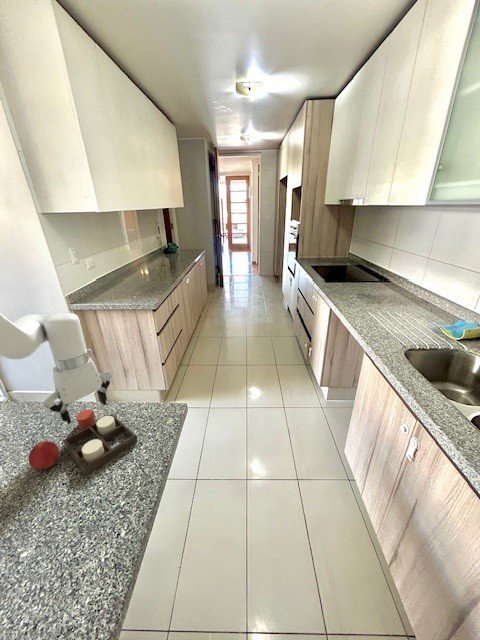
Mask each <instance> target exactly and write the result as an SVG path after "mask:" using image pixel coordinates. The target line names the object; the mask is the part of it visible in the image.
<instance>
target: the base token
mask: <svg viewBox="0 0 480 640" xmlns="http://www.w3.org/2000/svg"><path fill="white" fill-rule="evenodd" d="M81 448H82V454H83V457H84V461H85V464H86V465H88V464H90V463H91V462H93V461H94V460H96V459H97V458H99V457H100V456H102V455H104V454H105V453H104V448H103V445H102V441H101V440H98V439H90V440H89V441H87V442H86V443H85V444H83V446H82V447H81Z"/></svg>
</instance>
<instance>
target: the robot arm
mask: <svg viewBox="0 0 480 640" xmlns="http://www.w3.org/2000/svg"><path fill="white" fill-rule="evenodd" d="M46 342H47V343H48V345H49V348H50V352H51V355H52V358H53V361H54V364H55V366H54V367H53V368H52V378H53V379H52V380H53V385H54V392H53V393H51V394H50V395H49V396H48V397H47V398H46V399H44V400H43V402H42V405H43V406H44V407H45V408H47V409H48V410H50V411H52V412H55V413H59V415H60V418H61V421H62V422H63V423H64V422H66V423H67V424H68V425H69V424H71V423H72V419H71V416H70V413H69V411H68V407H69V405H70V404H72V403H74V402H77V401H78V400H80V399H83V398H85V397H87V396H89V395H91V394H93V393H95V392H97V396H98V401H99V402H100V403H101V404H102V405H103V406H106V405H107V400H108V396H107V391H108V390H107V389H108V387H109V386H110V384H111V380H112V376H113V375H112V374H111V373H110V372H99V371H98V368H97V367H96V365H95V362H94V361H93V359H92V357H90V355H91V354H94V350H93V349H92V348H88V349H87V345H86V341H85V337H84V333H83V329H82V324H81V321H80V318H79V316H78V315H77V314H75V313H72V312H62V313H57V314H37V313H35V314H25V315H22V316H20V317H19V318H17V319H16V320H15V321H13V322H12V321H11V320H10V319H9V318H7V317H6V316H5V315H4V314H2V313H1V312H0V356H1V357H4V358H6V359H9V360H22V359H25V358H28V357H30V356H32V355H33V354H34V353H35V352H36V351H37V350H38V349H39V347H41V346H42V345H43V344H44V343H46ZM101 379H104V380H103V381H102V380H101ZM57 399H58V400H59V401H58V403H57V404H55V403H54V402H55V401H56V400H57Z"/></svg>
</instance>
